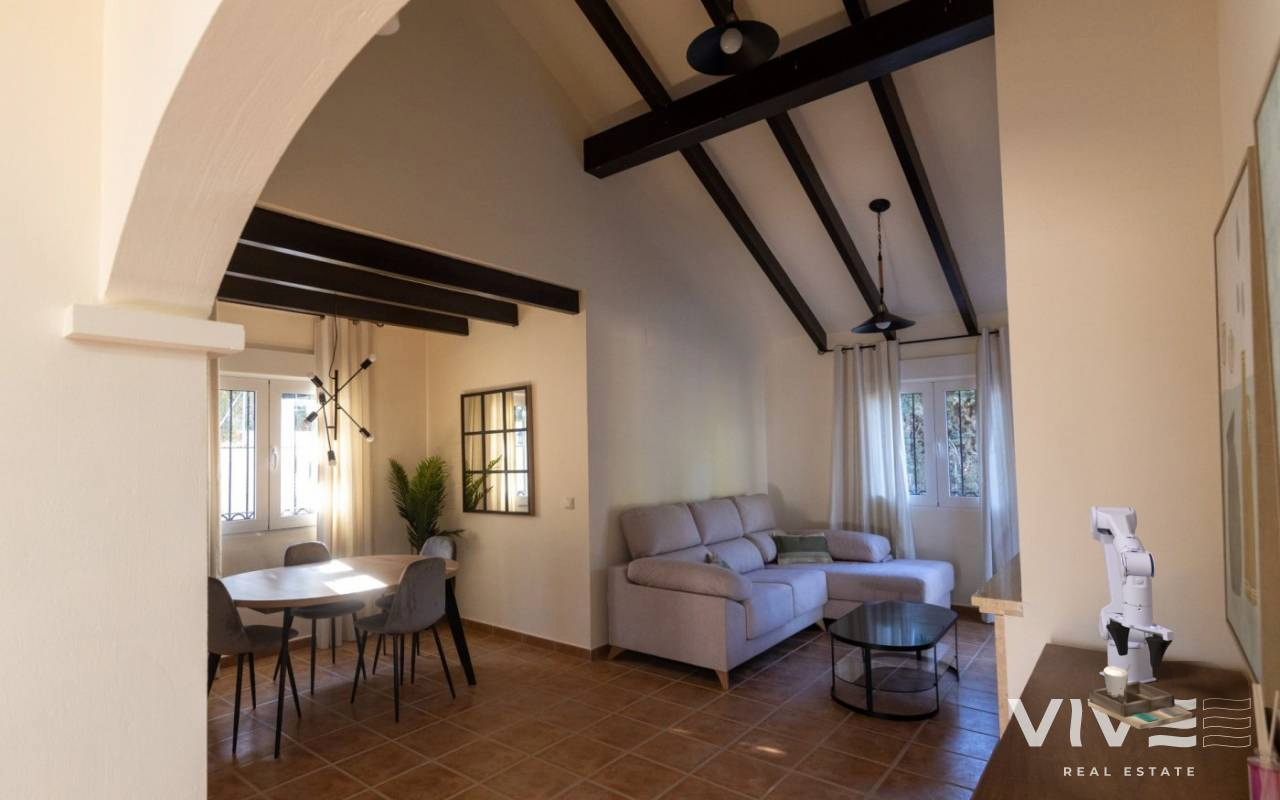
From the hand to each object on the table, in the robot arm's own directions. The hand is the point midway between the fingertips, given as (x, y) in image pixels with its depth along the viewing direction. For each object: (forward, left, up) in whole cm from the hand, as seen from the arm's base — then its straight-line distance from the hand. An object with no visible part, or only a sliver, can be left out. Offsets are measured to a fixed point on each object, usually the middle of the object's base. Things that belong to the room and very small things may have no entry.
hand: (1139, 660), depth 155 cm
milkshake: (+9, +2, -9) cm, 13 cm away
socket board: (+4, +3, -10) cm, 11 cm away
